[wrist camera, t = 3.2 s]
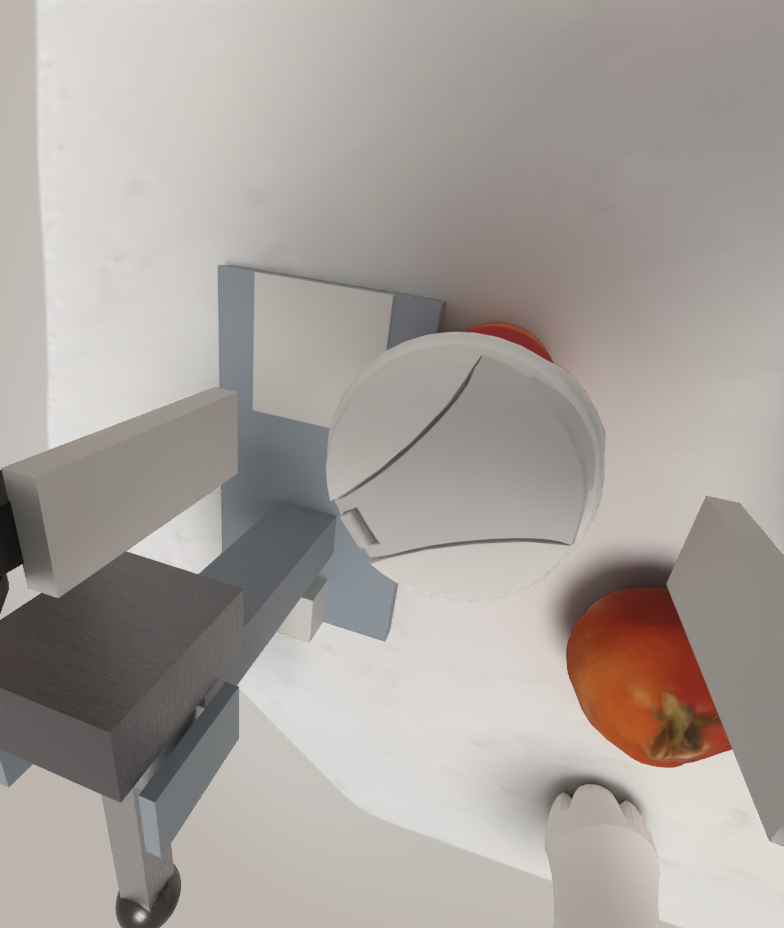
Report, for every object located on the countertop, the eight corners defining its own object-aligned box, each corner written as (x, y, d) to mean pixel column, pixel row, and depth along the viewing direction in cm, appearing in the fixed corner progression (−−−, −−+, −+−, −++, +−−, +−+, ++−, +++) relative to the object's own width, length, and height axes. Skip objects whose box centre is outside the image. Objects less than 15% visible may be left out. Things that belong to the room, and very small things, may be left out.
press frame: (230, 265, 28) (-258, 265, 11) (445, 301, 26) (245, 374, 8) (231, 580, 38) (-31, 845, 21) (389, 630, 35) (240, 982, 18)
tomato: (539, 641, 32) (538, 748, 25) (612, 533, 28) (635, 625, 21) (676, 707, 31) (716, 838, 24) (772, 605, 27) (854, 727, 20)
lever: (151, 521, 22) (-63, 661, 14) (272, 558, 20) (109, 732, 13) (173, 783, 29) (42, 966, 22) (262, 821, 28) (157, 1030, 20)
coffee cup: (464, 471, 29) (397, 645, 16) (396, 349, 28) (257, 427, 14) (604, 409, 26) (670, 566, 12) (535, 265, 24) (524, 266, 11)
